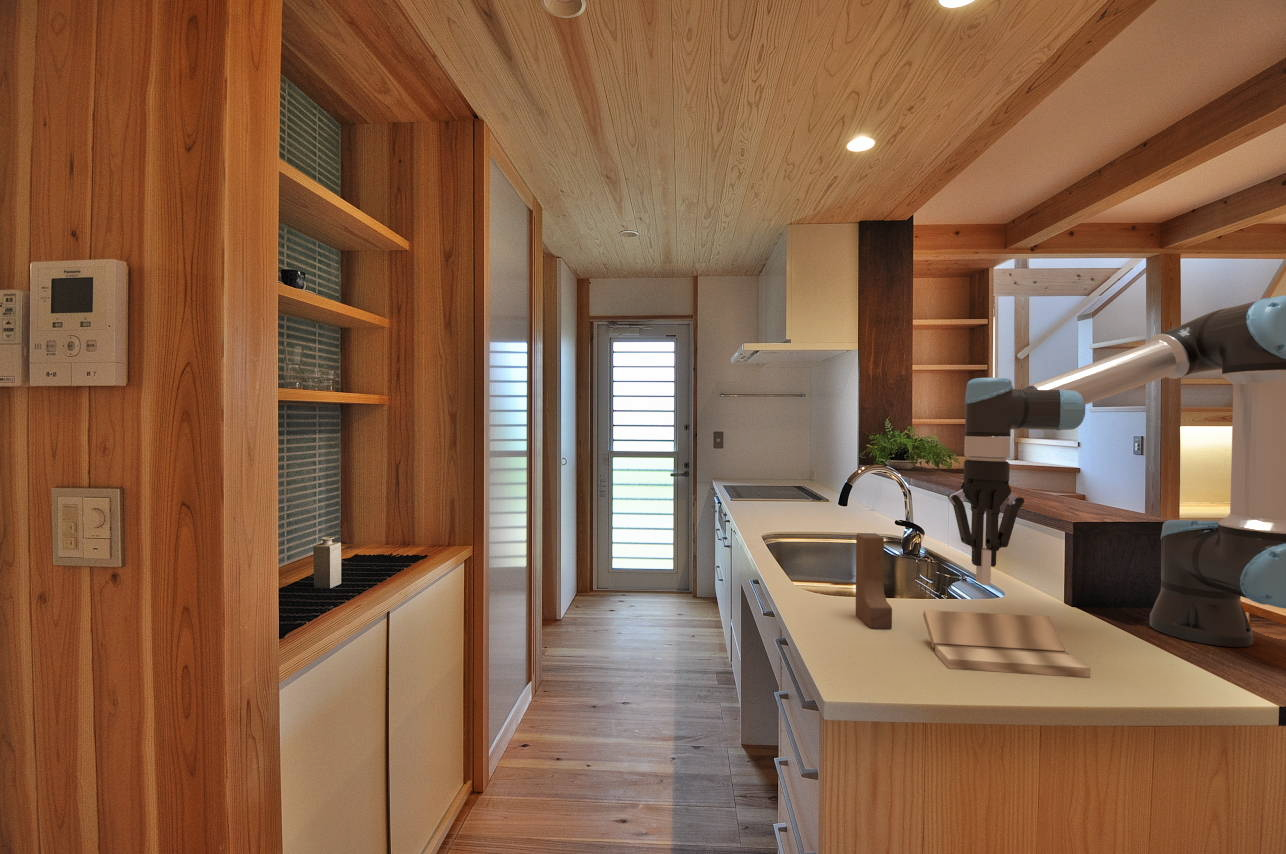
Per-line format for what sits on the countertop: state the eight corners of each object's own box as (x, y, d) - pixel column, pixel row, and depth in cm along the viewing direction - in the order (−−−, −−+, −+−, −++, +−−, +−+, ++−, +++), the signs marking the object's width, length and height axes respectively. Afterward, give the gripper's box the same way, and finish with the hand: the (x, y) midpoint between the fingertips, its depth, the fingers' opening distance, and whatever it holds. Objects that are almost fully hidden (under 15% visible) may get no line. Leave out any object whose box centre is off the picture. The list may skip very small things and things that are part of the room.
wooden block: (892, 629, 118) (893, 541, 118) (870, 629, 119) (871, 540, 119) (875, 615, 127) (876, 533, 127) (854, 614, 128) (855, 532, 128)
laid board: (1067, 661, 103) (1067, 652, 103) (1090, 677, 96) (1090, 667, 96) (935, 653, 106) (935, 644, 106) (948, 668, 100) (948, 658, 99)
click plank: (1046, 621, 110) (1049, 616, 109) (1062, 655, 104) (1065, 650, 103) (922, 614, 113) (924, 610, 112) (932, 647, 107) (934, 643, 106)
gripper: (1014, 459, 113) (1010, 580, 113) (942, 457, 115) (939, 575, 115) (1033, 461, 106) (1030, 590, 106) (957, 459, 108) (954, 586, 108)
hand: (983, 582), depth 111 cm, fingers closed
